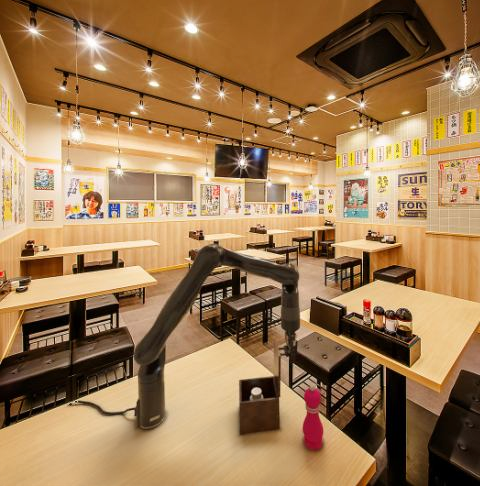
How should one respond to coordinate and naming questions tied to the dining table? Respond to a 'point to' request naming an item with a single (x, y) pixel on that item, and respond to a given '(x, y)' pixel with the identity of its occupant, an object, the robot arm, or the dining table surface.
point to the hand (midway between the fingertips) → (290, 357)
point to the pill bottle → (256, 394)
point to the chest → (258, 406)
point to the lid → (278, 364)
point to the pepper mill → (312, 419)
